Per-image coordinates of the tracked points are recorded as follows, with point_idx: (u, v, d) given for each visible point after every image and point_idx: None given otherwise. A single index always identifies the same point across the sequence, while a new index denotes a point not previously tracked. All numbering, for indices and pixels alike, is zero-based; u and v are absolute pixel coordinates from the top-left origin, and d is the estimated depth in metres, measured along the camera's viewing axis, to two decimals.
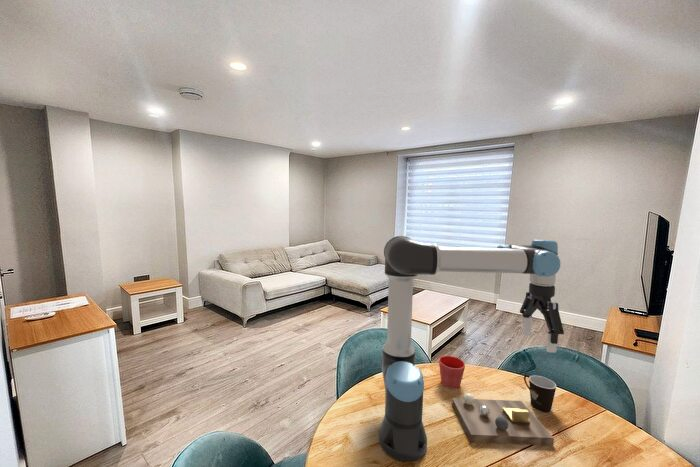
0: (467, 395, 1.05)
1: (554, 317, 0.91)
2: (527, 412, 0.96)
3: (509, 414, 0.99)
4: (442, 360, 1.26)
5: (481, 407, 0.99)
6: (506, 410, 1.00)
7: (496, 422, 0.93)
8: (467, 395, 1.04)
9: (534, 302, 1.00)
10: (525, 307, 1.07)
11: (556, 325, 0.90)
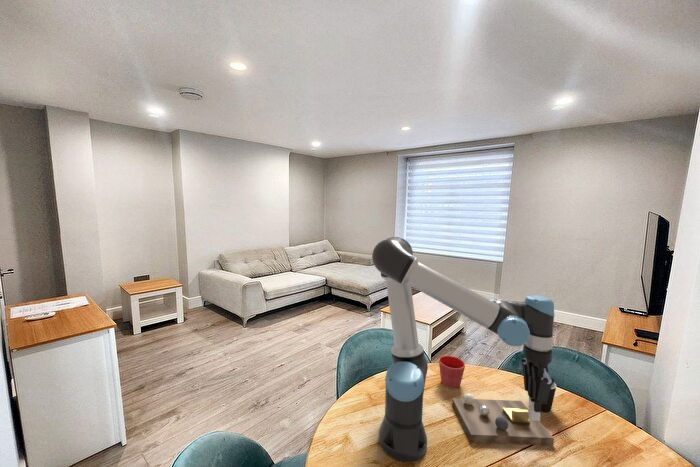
0: (467, 395, 1.05)
1: (544, 391, 0.84)
2: (527, 412, 0.96)
3: (509, 414, 0.99)
4: (442, 360, 1.26)
5: (481, 407, 0.99)
6: (506, 410, 1.00)
7: (496, 422, 0.93)
8: (467, 395, 1.04)
9: (530, 366, 0.89)
10: (527, 380, 0.92)
11: (542, 398, 0.85)
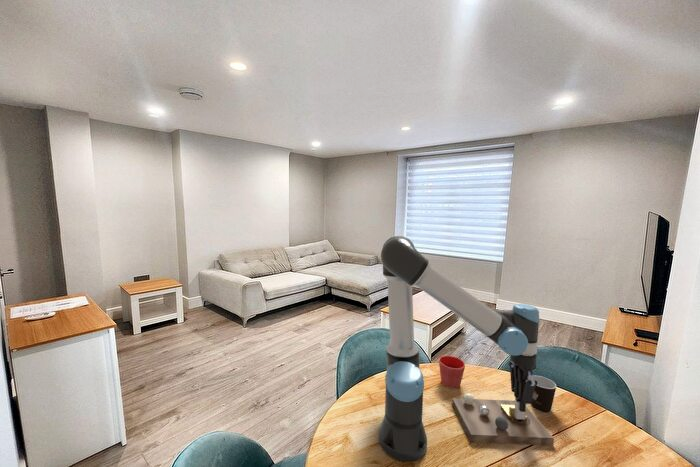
0: (467, 395, 1.05)
1: (528, 392, 0.91)
2: None
3: (507, 410, 1.00)
4: (442, 360, 1.26)
5: (481, 407, 0.99)
6: (503, 407, 1.02)
7: (496, 422, 0.93)
8: (467, 395, 1.04)
9: (516, 369, 0.96)
10: (514, 381, 0.99)
11: (526, 398, 0.92)
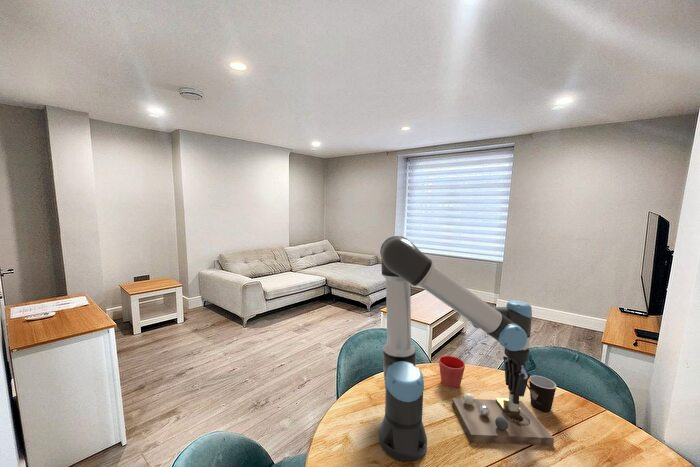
0: (467, 395, 1.05)
1: (521, 385, 0.95)
2: None
3: (501, 403, 1.04)
4: (442, 360, 1.26)
5: (481, 407, 0.99)
6: (498, 400, 1.06)
7: (496, 422, 0.93)
8: (467, 395, 1.04)
9: (510, 363, 1.00)
10: (508, 375, 1.03)
11: (519, 391, 0.96)
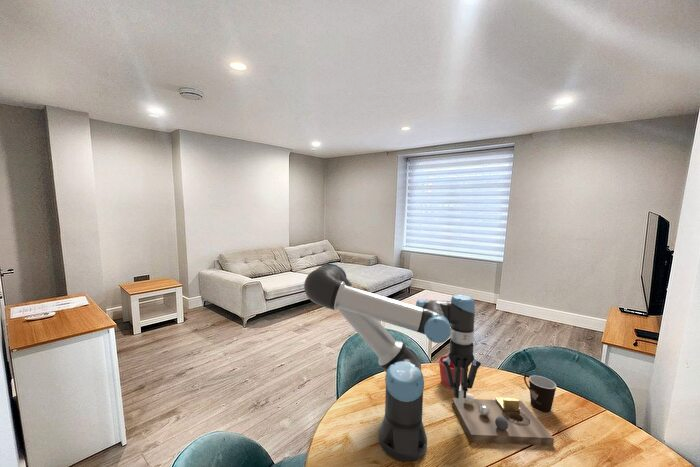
0: (467, 395, 1.05)
1: (446, 371, 0.99)
2: (517, 401, 1.01)
3: (501, 403, 1.04)
4: None
5: (481, 407, 0.99)
6: (498, 399, 1.06)
7: (496, 422, 0.93)
8: (467, 395, 1.04)
9: None
10: (469, 375, 0.99)
11: None
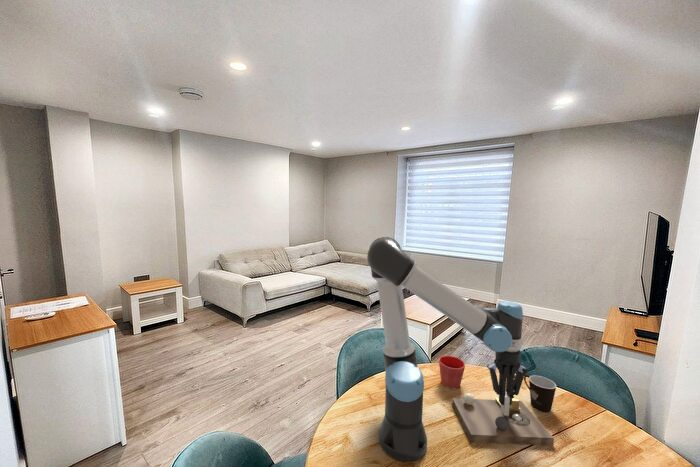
0: (467, 395, 1.05)
1: (491, 378, 0.99)
2: (517, 401, 1.01)
3: None
4: (442, 360, 1.26)
5: (518, 415, 0.99)
6: (498, 399, 1.06)
7: (496, 422, 0.93)
8: (467, 395, 1.04)
9: None
10: (514, 382, 0.99)
11: (493, 385, 0.99)
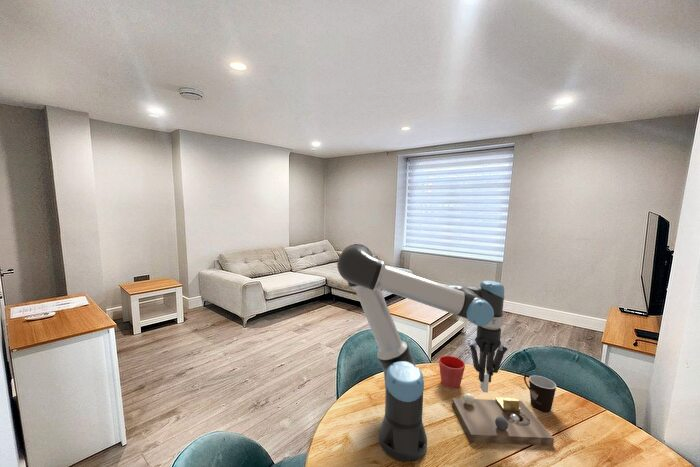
0: (467, 395, 1.05)
1: (472, 355, 1.01)
2: (517, 401, 1.01)
3: (501, 403, 1.04)
4: (442, 360, 1.26)
5: (513, 414, 0.99)
6: (498, 399, 1.06)
7: (496, 422, 0.93)
8: (467, 395, 1.04)
9: None
10: (494, 360, 1.00)
11: (473, 362, 1.01)
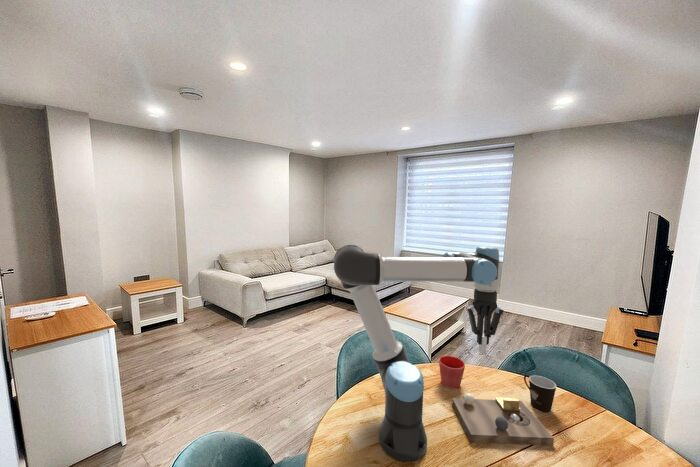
0: (467, 395, 1.05)
1: (470, 319, 1.04)
2: (517, 401, 1.01)
3: (501, 403, 1.04)
4: (442, 360, 1.26)
5: (514, 414, 0.99)
6: (498, 399, 1.06)
7: (496, 422, 0.93)
8: (467, 395, 1.04)
9: None
10: (491, 323, 1.04)
11: (471, 326, 1.04)
